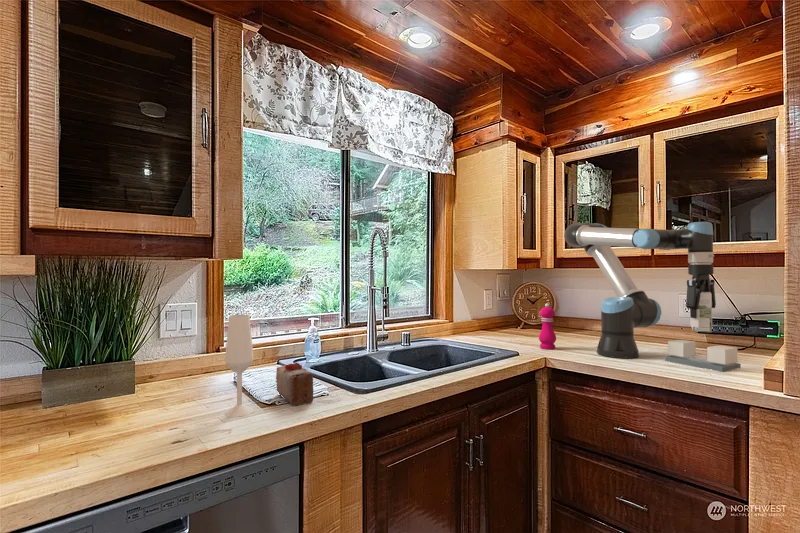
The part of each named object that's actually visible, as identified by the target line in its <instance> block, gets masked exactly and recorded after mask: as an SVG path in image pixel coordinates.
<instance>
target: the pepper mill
mask: <svg viewBox="0 0 800 533" xmlns="http://www.w3.org/2000/svg"><path fill="white" fill-rule="evenodd" d="M539 313H540V316H541V317H540V319H541V320H540V321H541V324H542V326H541V330H540V333H539V335H538V340H539V342H540V344H539V348H540V349H541V350H549V351H551V350H552V351H553V350H556V345H555V342H556V341H557V336H556V333H555V331H554V327H553V322H554V318H553V317H554V316H555V310H554V309H553V308H552V307H550V303H548V302H547V303H545V305H544V307H542V308H540V312H539Z"/></svg>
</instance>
